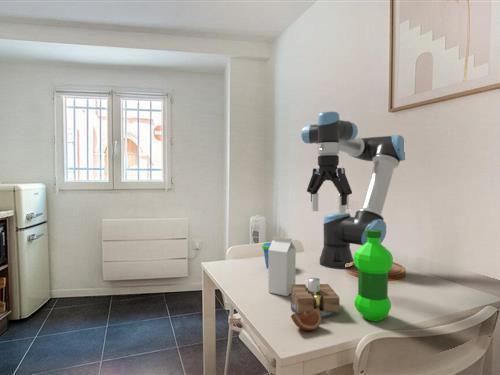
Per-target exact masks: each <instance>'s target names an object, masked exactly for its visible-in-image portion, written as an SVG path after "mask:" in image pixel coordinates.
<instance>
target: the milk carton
mask: <svg viewBox="0 0 500 375" xmlns="http://www.w3.org/2000/svg"><path fill="white" fill-rule="evenodd" d="M271 242H272V243H271V245H270V247H269V249H268V272H267V273H268V276H267V278H268V280H267V281H268V282H267V283H268V287H267V288H268V291H267V292H268V293H270V294H275V295H279V296H284V297H288V296H289V295H291V285H294V284H296V283H297V282H296V276H297V275H296V271H297V270H296V267H297V266H296V265H297V264H296V262H297V261H296V254H297V253H296V251H297V250H296V247H295V245H294V243H293V241H292V238H289V237H280V236H272V241H271Z"/></svg>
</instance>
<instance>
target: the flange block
mask: <svg viewBox="0 0 500 375" xmlns="http://www.w3.org/2000/svg"><path fill="white" fill-rule="evenodd" d="M290 296H291V301H292V300H293V302H294V304H295V306H296V309H297V311H298V312H305V310H306V311H308V310H313V309H314V298H313V296H312V295H311V293H309V294H308V286H307V284H306V283H305V284H304V283H303V284H302V283H299V284H294V285H291V293H290ZM320 296H321V308H322V309H323V311H324V312H327V311H337V312H340V296H339V295H338V294H337V293H336V291H335V290H334V289H333V288H332V287H331V286H330V285H329V283H320Z"/></svg>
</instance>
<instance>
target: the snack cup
mask: <svg viewBox="0 0 500 375" xmlns="http://www.w3.org/2000/svg"><path fill="white" fill-rule="evenodd" d="M271 243H272V241H271V242H265V243H263V244H262V245H261V247H262V250H263V257H264V262H265V267H266V268H268V249H269V247H270V245H271Z"/></svg>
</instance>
